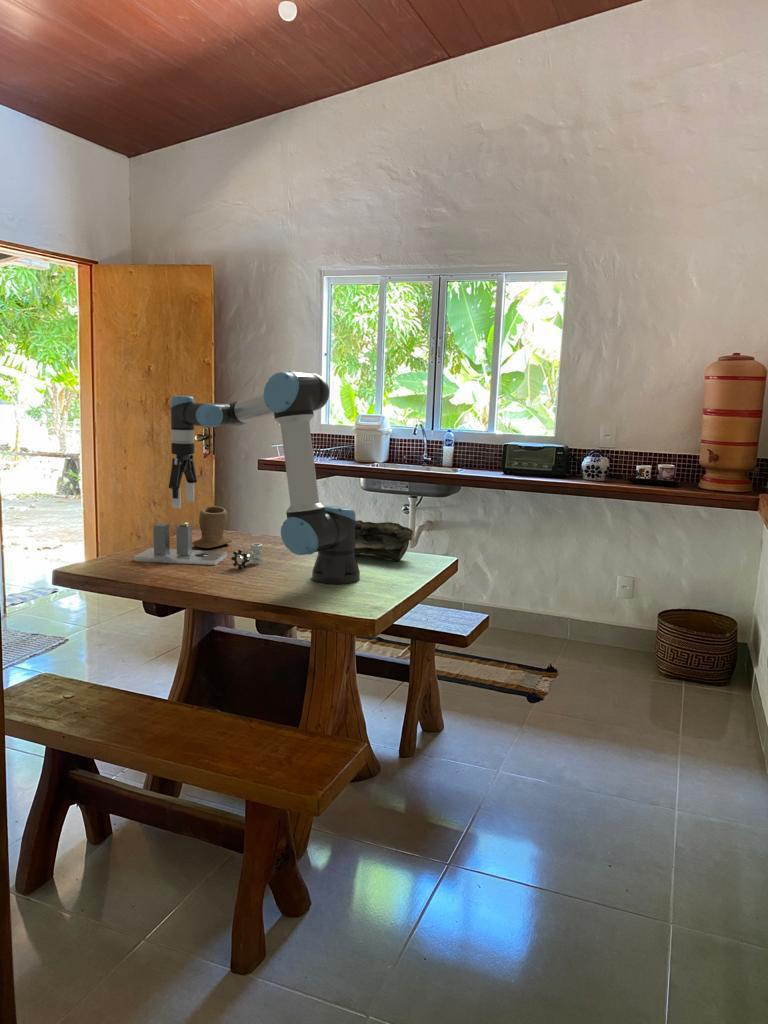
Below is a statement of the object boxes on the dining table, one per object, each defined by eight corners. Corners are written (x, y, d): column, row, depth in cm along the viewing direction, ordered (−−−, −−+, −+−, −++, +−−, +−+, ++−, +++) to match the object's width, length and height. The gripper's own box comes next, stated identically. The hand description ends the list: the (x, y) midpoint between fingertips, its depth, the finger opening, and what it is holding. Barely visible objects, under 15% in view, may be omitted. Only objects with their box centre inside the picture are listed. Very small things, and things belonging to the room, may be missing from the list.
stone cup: (210, 552, 271) (210, 511, 269) (187, 547, 278) (187, 507, 275) (240, 545, 284) (240, 506, 281) (218, 541, 290) (217, 502, 288)
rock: (411, 576, 265) (427, 541, 271) (400, 556, 255) (416, 521, 262) (344, 562, 278) (361, 529, 285) (331, 543, 269) (349, 509, 276)
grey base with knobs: (215, 565, 253) (215, 531, 251) (134, 561, 255) (133, 527, 253) (227, 555, 266) (227, 523, 265) (150, 552, 269) (149, 520, 267)
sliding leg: (188, 555, 258) (187, 524, 256) (176, 554, 259) (176, 523, 257) (192, 552, 262) (191, 522, 260) (180, 551, 262) (180, 521, 261)
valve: (251, 561, 261) (231, 568, 250) (251, 542, 260) (231, 548, 249) (268, 563, 258) (247, 570, 247) (268, 544, 257) (247, 551, 246)
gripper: (184, 439, 266) (185, 498, 270) (157, 444, 242) (158, 510, 246) (205, 439, 266) (205, 499, 270) (180, 445, 241) (181, 511, 245)
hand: (183, 504), depth 258 cm, fingers open, 13 cm apart
